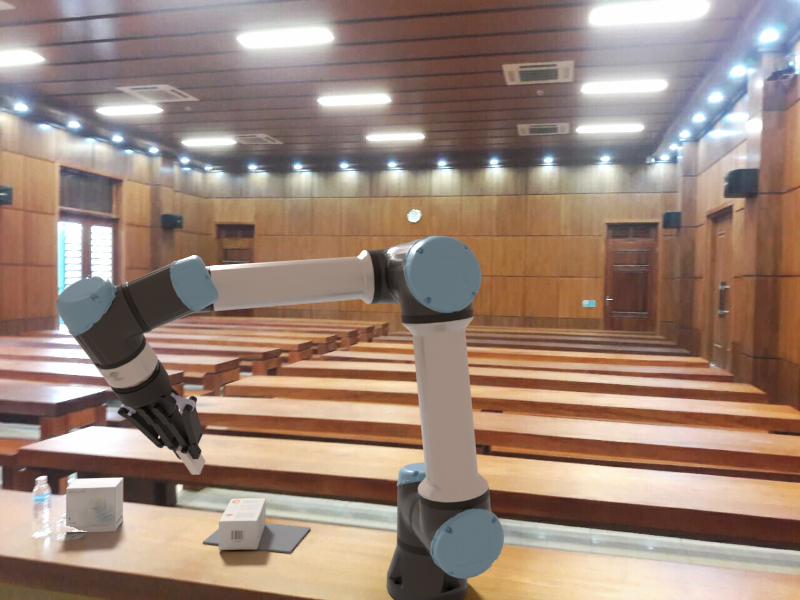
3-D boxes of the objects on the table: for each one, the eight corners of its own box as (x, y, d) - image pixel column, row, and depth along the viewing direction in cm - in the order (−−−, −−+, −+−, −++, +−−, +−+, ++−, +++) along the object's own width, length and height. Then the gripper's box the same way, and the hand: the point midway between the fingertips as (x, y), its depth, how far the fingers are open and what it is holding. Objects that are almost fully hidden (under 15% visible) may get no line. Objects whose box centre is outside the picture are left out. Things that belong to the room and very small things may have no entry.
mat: (310, 529, 134) (310, 527, 134) (290, 553, 122) (290, 551, 122) (230, 520, 138) (230, 519, 138) (202, 543, 126) (202, 541, 126)
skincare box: (64, 534, 129) (65, 487, 129) (76, 522, 136) (76, 478, 135) (115, 532, 131) (115, 485, 131) (123, 520, 137) (124, 476, 137)
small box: (257, 550, 122) (266, 524, 135) (257, 520, 122) (266, 497, 135) (217, 551, 122) (230, 524, 135) (217, 521, 122) (231, 497, 135)
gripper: (82, 393, 84) (155, 487, 98) (162, 389, 81) (225, 486, 96) (108, 356, 90) (174, 450, 104) (184, 351, 87) (240, 448, 101)
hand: (198, 467), depth 100 cm, fingers closed
